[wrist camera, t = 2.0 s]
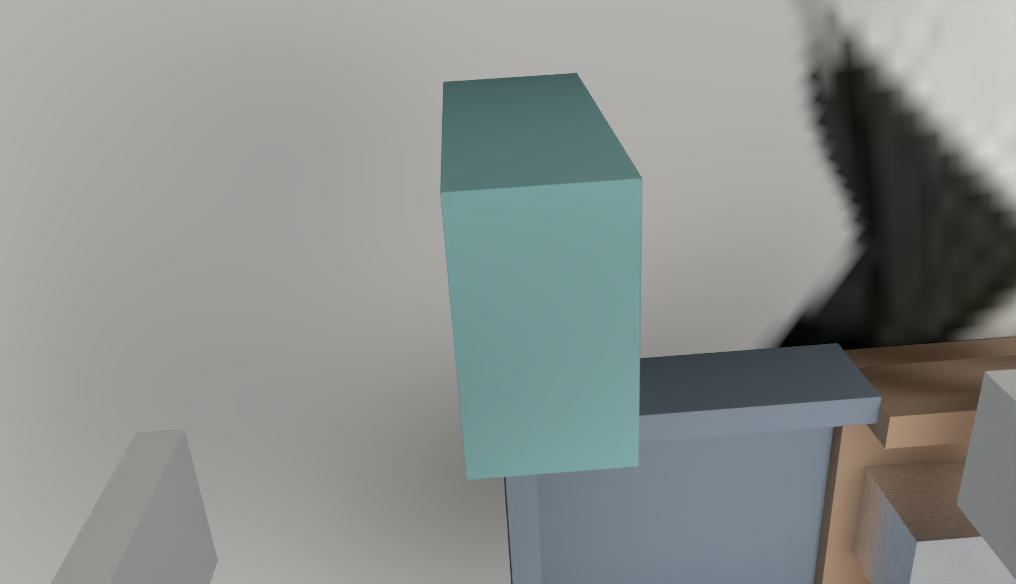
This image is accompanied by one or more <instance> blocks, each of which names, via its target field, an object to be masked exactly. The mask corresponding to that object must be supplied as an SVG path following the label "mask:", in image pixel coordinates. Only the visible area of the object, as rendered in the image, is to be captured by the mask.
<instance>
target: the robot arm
mask: <svg viewBox="0 0 1016 584" xmlns="http://www.w3.org/2000/svg"><path fill="white" fill-rule="evenodd" d="M957 505H958V506H959V508H960V509H961V510H962V512H963V513H964V514H965V515H966V517H967V518H968V519H969V521H970V522H971V523H972V524H973V526H974V527H975V528H976V530H977V531H978V532H979V533H980V535H981V536H982V537H983V539H984V540H985V541H986V542H987V544H988V545H989V546H990V548H991V549H992V550H993V551H994V553H995V554H996V555H997V557H998V558H999V559H1000V560H1001V562H1002V563H1003V564H1004V566H1005V567H1006V568H1007V569H1008V571H1009V572H1010V573H1011V575H1012V576H1013V577H1014V578H1015V580H1016V369H1011V370H998V371H985V373H984V378H983V382H982V387H981V392H980V397H979V401H978V406H977V411H976V415H975V420H974V425H973V430H972V434H971V439H970V444H969V448H968V453H967V458H966V463H965V467H964V472H963V477H962V482H961V486H960V491H959V496H958V500H957ZM216 563H217V557H216V553H215V549H214V545H213V541H212V538H211V533H210V529H209V525H208V521H207V518H206V513H205V510H204V506H203V502H202V498H201V494H200V490H199V486H198V482H197V478H196V474H195V471H194V467H193V463H192V459H191V455H190V451H189V448H188V443H187V440H186V435H185V432H184V430H173V431H160V432H145V433H136V435H135V436H134V438H133V440H132V442H131V443H130V445H129V447H128V449H127V450H126V452H125V454H124V456H123V458H122V459H121V461H120V463H119V465H118V466H117V468H116V470H115V472H114V473H113V475H112V477H111V479H110V481H109V482H108V484H107V486H106V488H105V489H104V491H103V493H102V495H101V496H100V498H99V500H98V502H97V504H96V505H95V507H94V509H93V511H92V513H91V514H90V516H89V518H88V520H87V521H86V523H85V525H84V527H83V528H82V530H81V532H80V534H79V536H78V537H77V539H76V541H75V543H74V544H73V546H72V548H71V550H70V552H69V553H68V555H67V557H66V558H65V560H64V562H63V564H62V566H61V568H60V569H59V571H58V573H57V575H56V576H55V578H54V580H53V581H52V584H210V581H211V578H212V575H213V572H214V569H215V566H216Z"/></svg>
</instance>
